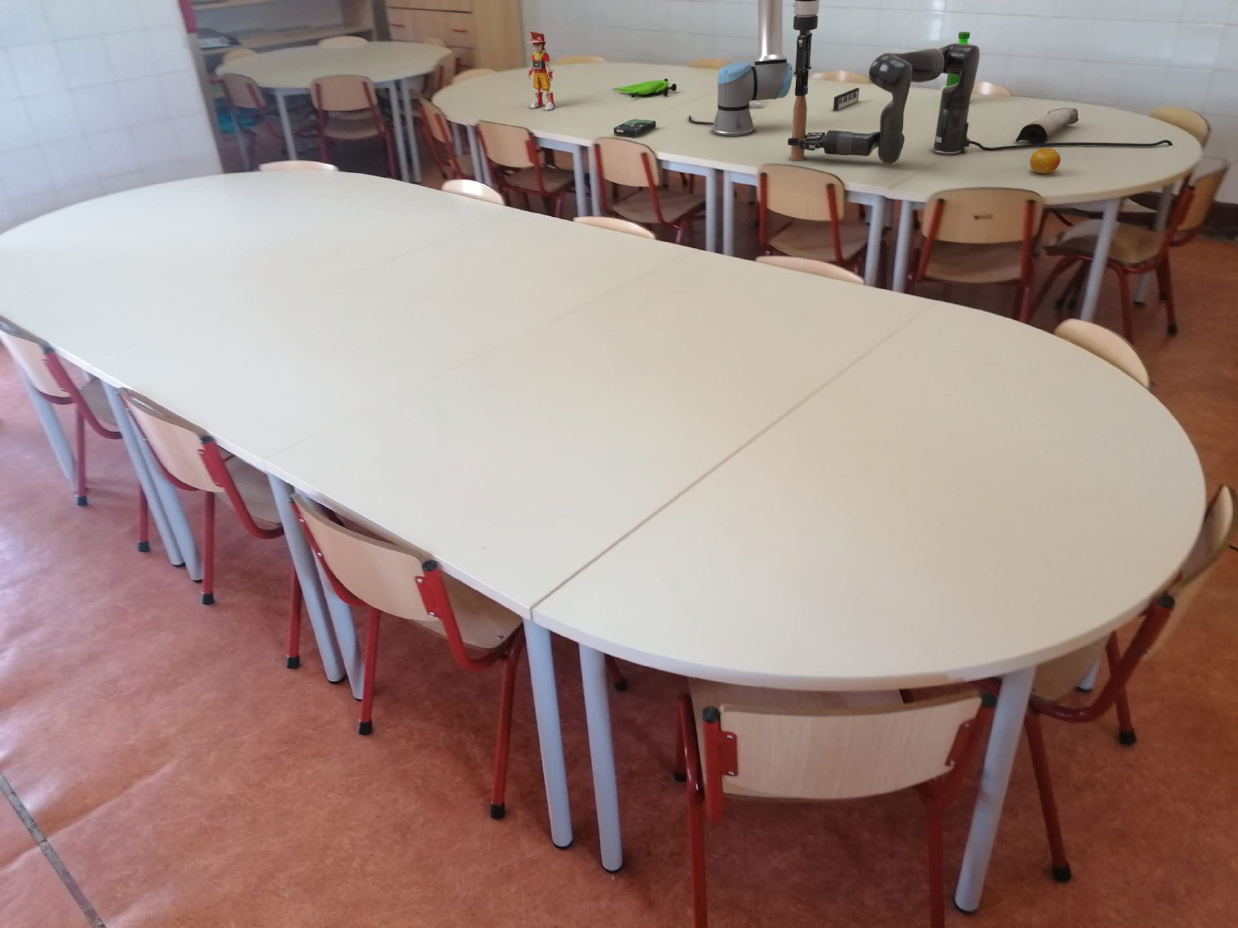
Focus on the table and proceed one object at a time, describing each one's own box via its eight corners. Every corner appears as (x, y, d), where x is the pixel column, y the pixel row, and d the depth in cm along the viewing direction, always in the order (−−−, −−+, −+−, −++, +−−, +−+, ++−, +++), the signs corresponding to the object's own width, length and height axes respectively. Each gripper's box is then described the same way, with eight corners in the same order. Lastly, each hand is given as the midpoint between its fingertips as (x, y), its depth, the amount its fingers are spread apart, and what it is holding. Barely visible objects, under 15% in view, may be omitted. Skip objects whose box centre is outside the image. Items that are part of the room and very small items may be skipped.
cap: (793, 92, 294) (794, 85, 293) (806, 92, 294) (807, 85, 293) (795, 95, 291) (796, 88, 290) (808, 95, 291) (809, 88, 289)
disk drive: (636, 138, 336) (656, 127, 346) (636, 130, 334) (656, 120, 344) (613, 135, 340) (633, 125, 351) (613, 128, 339) (633, 118, 349)
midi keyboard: (835, 110, 353) (837, 97, 350) (833, 110, 354) (834, 97, 351) (858, 101, 363) (859, 88, 361) (855, 101, 364) (856, 88, 361)
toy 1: (525, 109, 381) (517, 32, 364) (534, 104, 388) (527, 28, 371) (550, 110, 377) (543, 32, 360) (559, 105, 384) (553, 28, 367)
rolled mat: (1045, 112, 323) (1070, 95, 315) (1059, 134, 324) (1084, 117, 315) (1011, 136, 306) (1036, 118, 298) (1025, 158, 306) (1051, 141, 298)
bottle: (806, 159, 303) (810, 89, 290) (794, 161, 302) (798, 90, 289) (799, 156, 307) (804, 86, 294) (788, 158, 306) (792, 88, 293)
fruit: (1025, 163, 276) (1043, 140, 272) (1023, 166, 283) (1041, 143, 280) (1048, 179, 274) (1067, 155, 271) (1046, 181, 282) (1064, 158, 279)
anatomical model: (728, 79, 370) (752, 73, 369) (732, 105, 376) (756, 98, 375) (735, 87, 358) (759, 81, 357) (739, 114, 364) (763, 107, 363)
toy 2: (686, 85, 398) (631, 84, 414) (685, 72, 395) (629, 72, 411) (651, 104, 381) (596, 103, 397) (650, 92, 378) (594, 91, 394)
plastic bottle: (973, 101, 354) (984, 32, 339) (955, 106, 349) (966, 36, 335) (952, 97, 361) (962, 29, 346) (934, 102, 356) (944, 33, 342)
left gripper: (799, 10, 288) (795, 86, 301) (788, 20, 273) (784, 100, 286) (823, 10, 285) (817, 87, 298) (812, 20, 271) (807, 100, 284)
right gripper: (847, 125, 298) (797, 122, 305) (836, 137, 288) (784, 133, 295) (845, 148, 303) (795, 145, 309) (834, 160, 292) (783, 156, 299)
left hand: (801, 93), depth 292 cm, fingers open, 6 cm apart
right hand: (790, 139), depth 302 cm, fingers closed on bottle, 4 cm apart
